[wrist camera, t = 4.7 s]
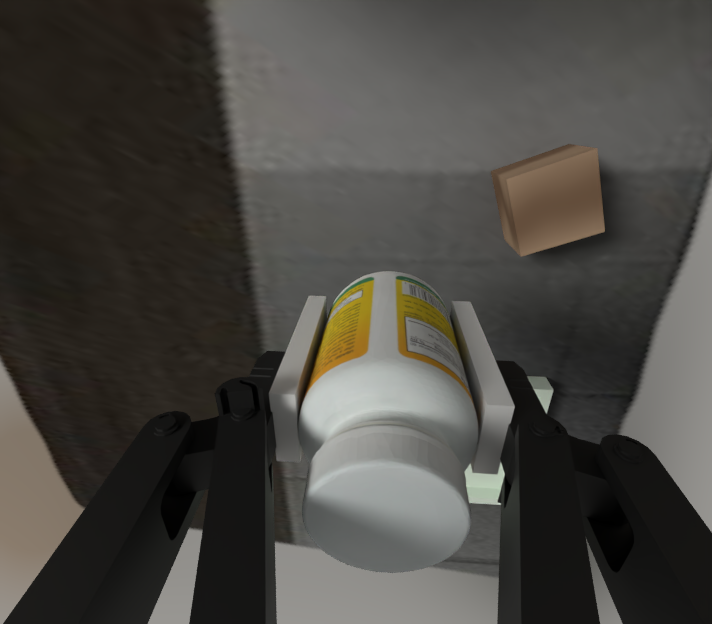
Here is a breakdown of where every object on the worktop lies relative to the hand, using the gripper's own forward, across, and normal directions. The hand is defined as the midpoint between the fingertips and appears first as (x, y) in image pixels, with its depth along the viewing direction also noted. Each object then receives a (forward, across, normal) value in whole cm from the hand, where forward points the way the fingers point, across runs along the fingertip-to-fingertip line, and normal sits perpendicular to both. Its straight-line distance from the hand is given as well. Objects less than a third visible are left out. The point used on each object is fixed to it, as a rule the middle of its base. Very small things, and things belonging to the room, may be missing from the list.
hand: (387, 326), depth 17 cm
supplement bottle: (+1, 0, 0) cm, 1 cm away
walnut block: (+14, +10, +3) cm, 17 cm away
